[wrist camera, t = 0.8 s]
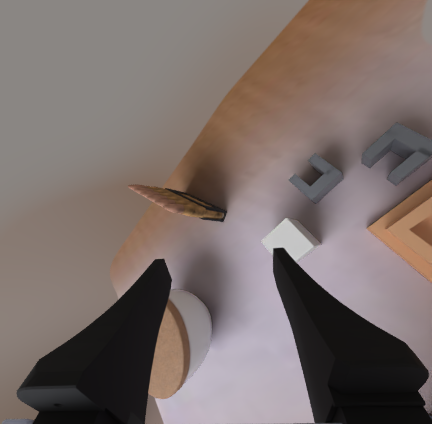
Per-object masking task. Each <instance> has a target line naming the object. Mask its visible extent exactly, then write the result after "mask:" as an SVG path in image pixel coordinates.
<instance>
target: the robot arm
mask: <svg viewBox="0 0 432 424" xmlns="http://www.w3.org/2000/svg"><path fill="white" fill-rule="evenodd" d="M273 273H274V277H275V281H276V285H277V288H278V291H279V294H280V297H281V300H282V302H283V305H284V308H285V311H286V313H287V316H288V319H289V322H290V325H291V328H292V331H293V335H294V339H295V343H296V346H297V350H298V354H299V358H300V362H301V366H302V370H303V374H304V378H305V382H306V386H307V391H308V395H309V399H310V404H311V408H312V412H313V417H314V421H315V423H295V424H432V416H429V414H428V413H427V411H426V410H425V408H424V407H423V406H424V405H426V404H425V401H424V400H423V398H422V397H421V395H420V394H419V392H418V390H419V389H420V388H421V387H422V386H423V385H424V383H425V382H426V381H427V379H428V377H429V373H428V370H427V369H426V367H425V366H424V365H423V364H422V362H421V361H420V360H419V358H418V357H417V356H416V355H415V353H414V352H413V351H412V350H411V349H410V348H409V347H408V345H407V344H406V343H405V342H403V341H401V340H400V339H398V338H396V337H394V336H393V335H391V334H389V333H387V332H385V331H384V330H382V329H380V328H378V327H377V326H375V325H373V324H372V323H370V322H369V321H367V320H366V319H364V318H362V317H361V316H359V315H358V314H356V313H355V312H354V311H352V310H351V309H349V308H348V307H346V306H345V305H343V304H342V303H341V302H339V301H338V300H337V299H336V298H334V297H333V296H332V295H330V294H329V293H328V292H327V291H326V290H324V289H323V288H322V287H321V286H320V285H319V284H318V283H316V282H315V281H314V280H313V279H312V278H311V277H310V276H309V275H308V274H307V273H306V272H305V271H304V270H303V269H302V268H301V267H300V266H299V265H298V264H297V263H296V262H295V260H294V259H293V258H292V257H291V256H290V255H289V253H288V252H287V251H286V250H285V249H284V248H283V247H282V248H273ZM171 282H172V279H171V276H170V273H169V271H168V268H167V266H166V263H165V260H164V259H155V260H154V261H153V263H152V264H151V265H150V266H149V267H148V268H147V270H146V271H145V272H144V273H143V274H142V275H141V276H140V278H139V279H138V280H137V281H136V282H135V283H134V284H133V285H132V286H131V288H130V289H129V290H128V291H127V292H126V293H125V294H124V295H123V296H122V297H121V298H120V299H119V300H118V301H117V302H116V303H115V304H114V305H113V306H111V307H110V308H109V309H108V310H107V311H106V312H105V313H104V314H102V315H101V316H100V317H99V318H97V319H96V320H95V321H94V322H93V323H91V324H90V325H89V326H88V327H86V328H85V329H84V330H82V331H81V332H80V333H78V334H77V335H76V336H74V337H73V338H71V339H70V340H68V341H67V342H66V343H64V344H63V345H61V346H59V347H58V348H56V349H55V350H53V351H52V352H50V353H49V354H47V355H46V356H44V357H42V358H41V359H39V361H38V362H37V363H36V365H35V366H34V368H33V369H32V371H31V372H30V374H29V375H28V376H27V378H26V379H25V380H24V382H23V383H22V385H21V386H20V388H19V389H18V390H17V397H18V398H19V399H20V400H21V401H22V402H24V403H25V404H27V405H29V406H31V407H32V408H34V409H35V410H37V411H39V414H38V415H37V417H36V419H35V420H30V419H6V420H4V421H3V422H2V424H145V415H146V406H147V399H148V391H149V384H150V377H151V371H152V365H153V359H154V353H155V348H156V343H157V338H158V334H159V330H160V326H161V323H162V319H163V316H164V312H165V309H166V305H167V302H168V298H169V295H170V289H171Z"/></svg>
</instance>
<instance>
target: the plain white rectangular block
mask: <svg viewBox="0 0 432 424" xmlns="http://www.w3.org/2000/svg"><path fill="white" fill-rule="evenodd" d="M261 242H262V243H263V245H264V246H265V247H266V248H267V249H268V251H269V252H270V253H271V254H272V255H273V248H282V247H283V248H284V249H285V250H286V251H287V252H288V253H289V255H290V256H291V257H292V258H293V259H294V260H295V262H296V263H297V264H298V263H299V262H300V261H301V260H303V259H304V258H305V257H306V256H308V255H309V254H310V253H312V252H313V251H314V250H315V249H317V248H318V247H319V246H320V245H322V244H321V243H320V242H319V241H318V240H317V239H316V238H315V237H314V236H313V235H312V234H311V233H310V232H309V231H308V230H307V229H306V228H305V227H304V226H303V225H302V224H301V223H300V222H299V221H298V220H294V219H290V218H285V219H284V220H283V221H282V222H281V223H280V224H279V225H278V226H277V227H276V228H275V229H274V230H273V231H271V232H270V233H269V234H268V235H267V236H266V237H265V238H264V239H263V240H262V241H261Z"/></svg>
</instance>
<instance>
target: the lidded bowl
mask: <svg viewBox="0 0 432 424" xmlns="http://www.w3.org/2000/svg"><path fill="white" fill-rule="evenodd" d="M211 338H212V320H211V315H210V313H209V310H208V308H207V307H206V305H205V304H204V303H203V302H202V301H201V300H200V299H199V298H197V297H196V296H195V295H193V294H192V293H190V292H187V291H184V290H179V289H172V290H170V295H169V298H168V302H167V305H166V309H165V312H164V316H163V319H162V323H161V326H160V330H159V334H158V338H157V343H156V348H155V353H154V359H153V365H152V371H151V377H150V384H149V391H148V393H149V394H150V395H152V396H153V397H155V398H159V399H166V398H169V397H171V396H172V395H173V394H175V393H176V392H177V391H178V390H179V389H180V388H181V387H182V385H183V384H184V383H185V382H186V381H187V380H188V379H189V378H191V377H192V376H193V375H194V373H195V372H196V371H197V370H198V369H199V367H200V366H201V364H202V363H203V361H204V360H205V358H206V355H207V353H208V351H209V348H210V344H211Z"/></svg>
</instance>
